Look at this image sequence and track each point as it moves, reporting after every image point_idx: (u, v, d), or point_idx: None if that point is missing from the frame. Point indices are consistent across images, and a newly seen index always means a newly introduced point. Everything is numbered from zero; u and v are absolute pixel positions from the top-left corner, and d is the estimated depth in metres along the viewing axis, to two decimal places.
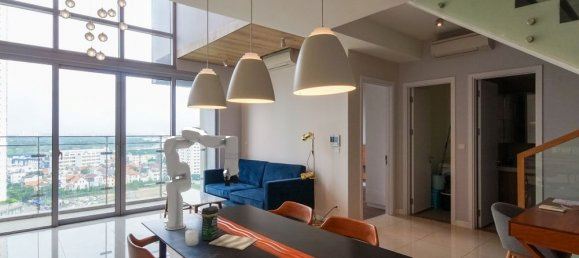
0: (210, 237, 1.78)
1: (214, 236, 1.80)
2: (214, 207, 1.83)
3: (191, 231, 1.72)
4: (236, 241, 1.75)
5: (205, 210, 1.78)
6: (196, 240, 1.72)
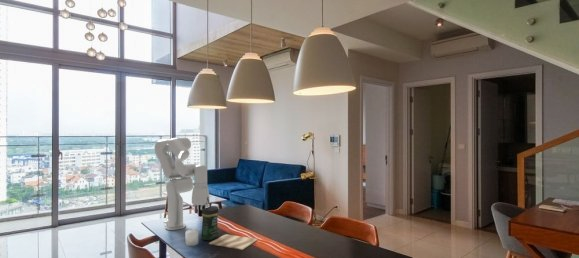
0: (210, 237, 1.77)
1: (214, 236, 1.80)
2: (214, 207, 1.83)
3: (191, 231, 1.72)
4: (236, 241, 1.75)
5: (205, 210, 1.78)
6: (196, 240, 1.72)
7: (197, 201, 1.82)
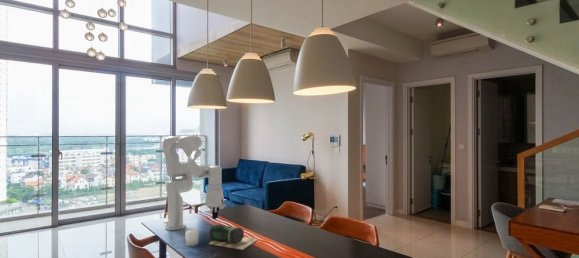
0: (213, 239, 1.76)
1: None
2: (241, 238, 1.73)
3: (191, 231, 1.72)
4: None
5: (233, 238, 1.68)
6: (196, 240, 1.72)
7: (211, 203, 1.78)
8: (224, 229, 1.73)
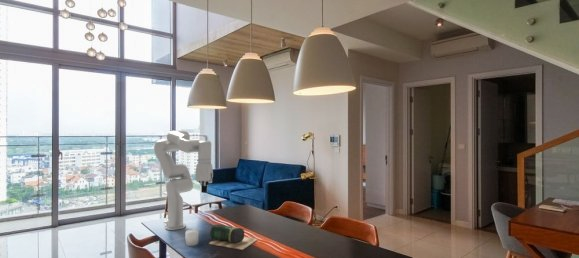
0: (213, 238, 1.77)
1: None
2: (241, 238, 1.73)
3: (191, 231, 1.72)
4: None
5: (234, 238, 1.69)
6: (196, 240, 1.72)
7: (200, 177, 1.81)
8: (225, 228, 1.74)
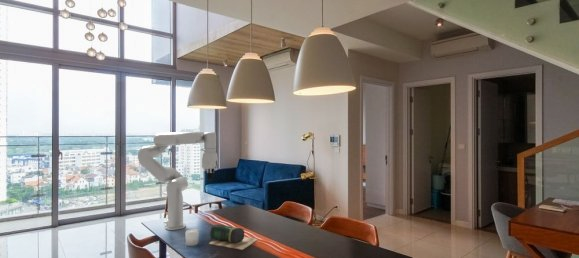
0: (213, 238, 1.77)
1: None
2: (241, 238, 1.73)
3: (191, 231, 1.72)
4: None
5: (234, 238, 1.69)
6: (196, 240, 1.72)
7: (206, 165, 1.99)
8: (225, 228, 1.74)
